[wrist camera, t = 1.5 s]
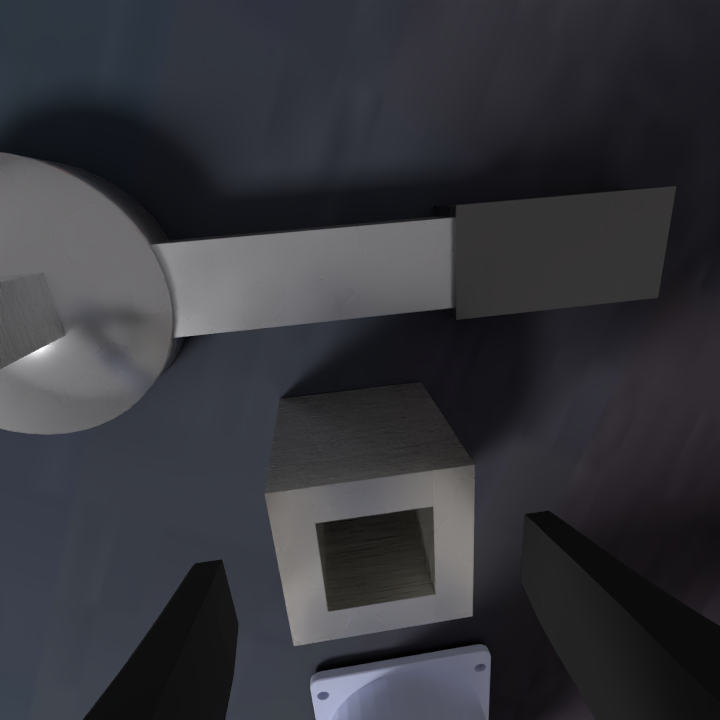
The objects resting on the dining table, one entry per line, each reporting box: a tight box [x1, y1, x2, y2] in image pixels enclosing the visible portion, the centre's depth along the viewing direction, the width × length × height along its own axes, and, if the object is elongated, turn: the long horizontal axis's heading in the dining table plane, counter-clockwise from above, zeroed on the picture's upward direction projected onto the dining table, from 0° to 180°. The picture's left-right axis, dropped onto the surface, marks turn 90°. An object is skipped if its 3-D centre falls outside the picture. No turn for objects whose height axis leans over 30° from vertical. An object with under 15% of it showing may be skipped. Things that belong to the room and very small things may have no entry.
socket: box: [265, 382, 475, 646], centre depth 13 cm, size 5×5×5 cm
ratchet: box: [0, 152, 676, 434], centre depth 11 cm, size 7×20×4 cm, turn 95°
